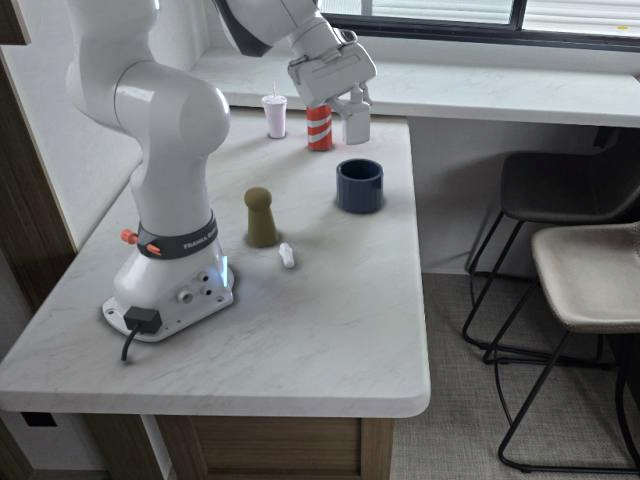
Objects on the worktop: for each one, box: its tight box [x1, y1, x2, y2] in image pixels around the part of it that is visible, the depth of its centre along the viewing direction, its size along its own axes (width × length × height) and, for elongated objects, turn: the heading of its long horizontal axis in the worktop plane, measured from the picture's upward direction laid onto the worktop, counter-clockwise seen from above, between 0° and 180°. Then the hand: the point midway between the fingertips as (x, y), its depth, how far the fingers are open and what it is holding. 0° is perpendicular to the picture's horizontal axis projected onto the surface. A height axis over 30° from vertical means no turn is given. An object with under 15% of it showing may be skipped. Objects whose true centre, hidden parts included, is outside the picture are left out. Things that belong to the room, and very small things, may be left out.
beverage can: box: [305, 103, 333, 152], centre depth 140 cm, size 6×6×12 cm
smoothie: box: [261, 80, 288, 139], centre depth 143 cm, size 6×6×14 cm
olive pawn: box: [243, 186, 279, 248], centre depth 109 cm, size 6×6×11 cm
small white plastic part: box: [278, 242, 295, 269], centre depth 106 cm, size 4×6×3 cm, turn 175°
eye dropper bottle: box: [341, 83, 371, 146], centre depth 111 cm, size 4×6×12 cm
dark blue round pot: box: [335, 157, 385, 215], centre depth 122 cm, size 10×10×8 cm
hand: (359, 112), depth 111 cm, fingers closed on eye dropper bottle, 5 cm apart
